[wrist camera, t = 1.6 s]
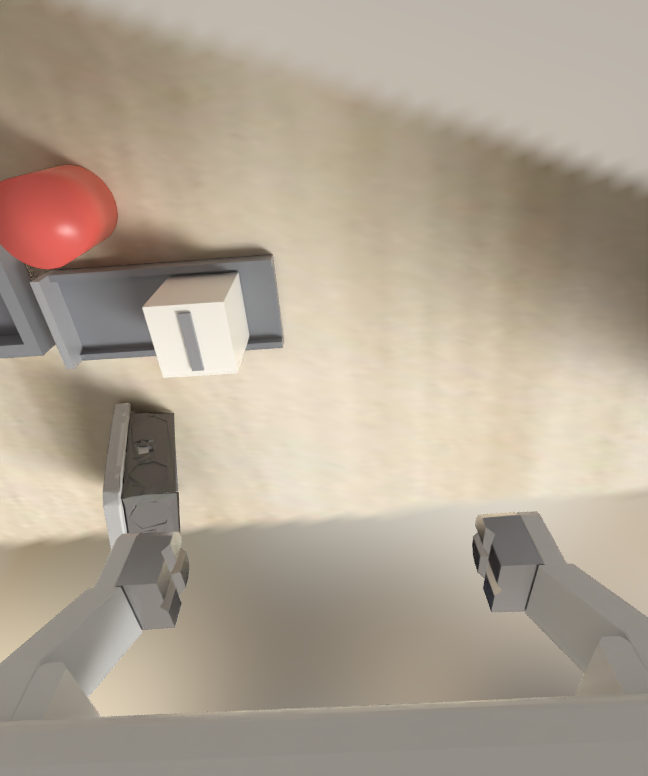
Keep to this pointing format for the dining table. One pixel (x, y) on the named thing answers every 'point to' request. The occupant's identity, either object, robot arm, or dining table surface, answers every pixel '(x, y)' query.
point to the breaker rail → (129, 294)
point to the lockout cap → (55, 215)
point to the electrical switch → (141, 474)
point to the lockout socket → (20, 312)
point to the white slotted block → (198, 324)
